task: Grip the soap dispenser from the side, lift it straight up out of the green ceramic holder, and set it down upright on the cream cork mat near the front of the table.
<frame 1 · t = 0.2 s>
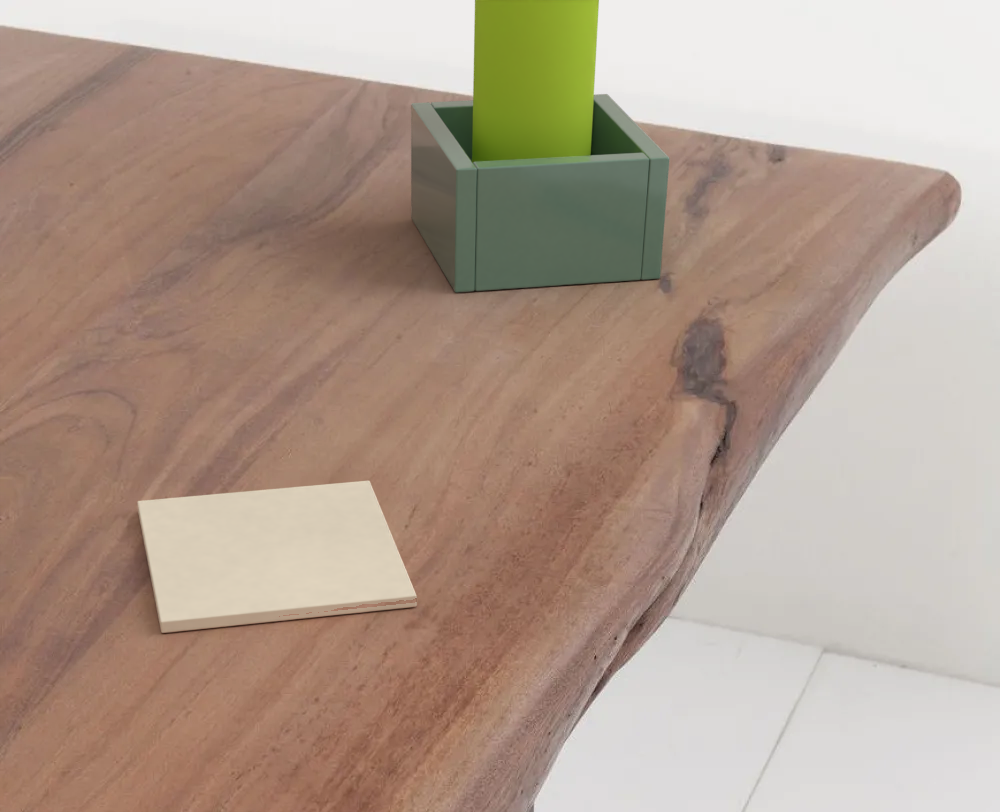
holder: (531, 248, 96), on the table
soap dispenser: (531, 251, 96), resting in holder
mat: (272, 557, 69), on the table
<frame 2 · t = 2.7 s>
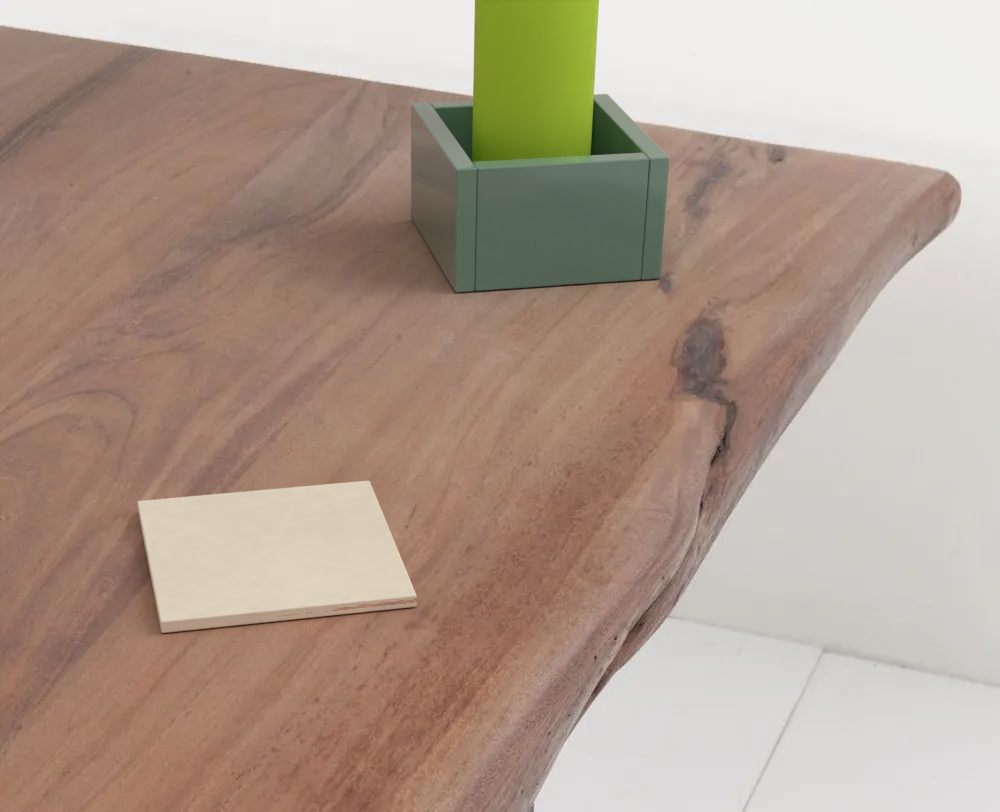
nothing on the table moved.
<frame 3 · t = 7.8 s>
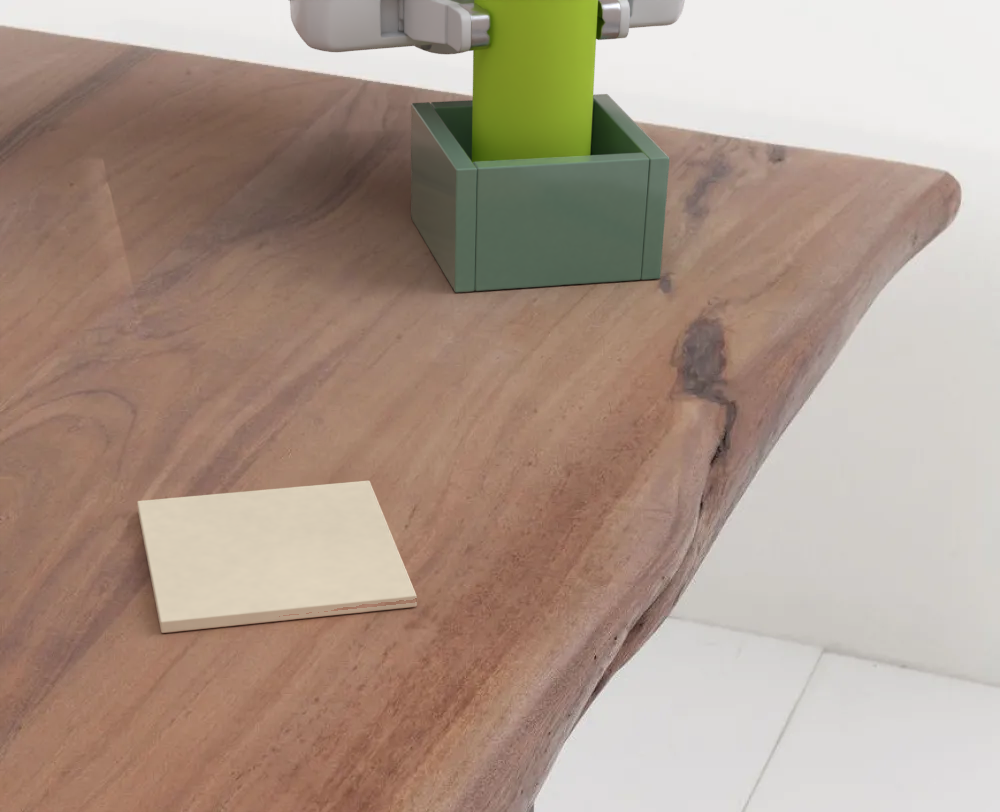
hand: (547, 27, 89), 11 cm above the table, tool horizontal, fingers closed on soap dispenser, 6 cm apart
soap dispenser: (531, 251, 96), resting in holder, touching gripper
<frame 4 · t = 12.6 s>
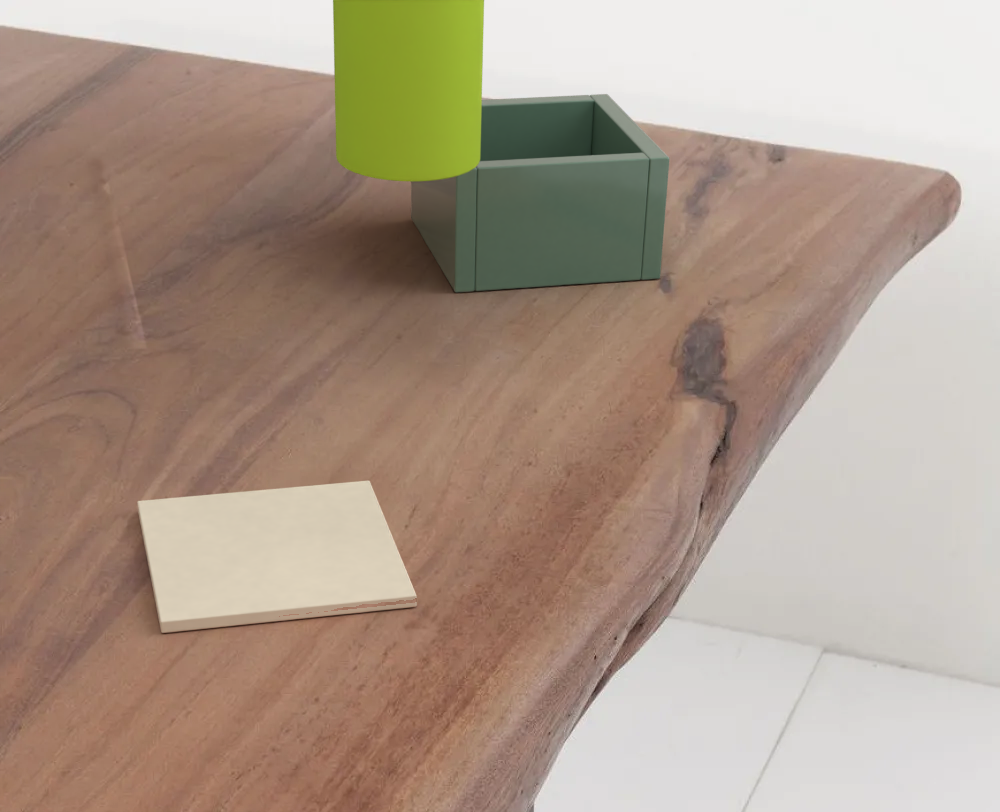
soap dispenser: (412, 166, 77), point 9 cm above the table, touching gripper
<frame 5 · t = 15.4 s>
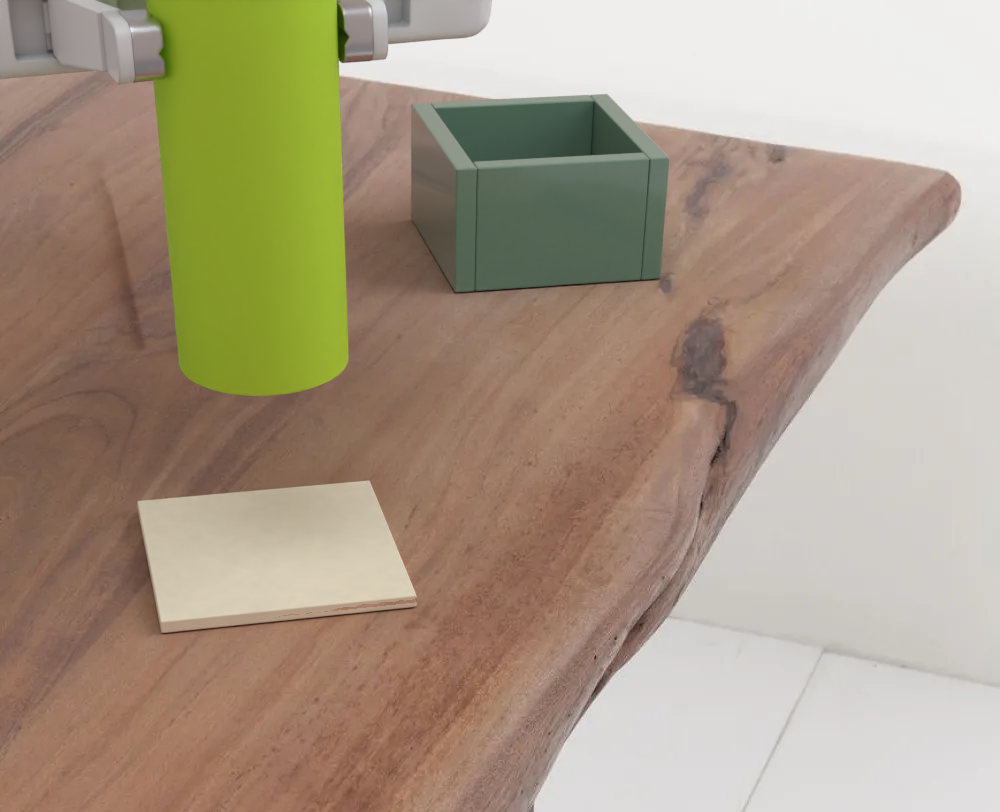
hand: (257, 45, 58), 18 cm above the table, tool horizontal, fingers closed on soap dispenser, 6 cm apart
soap dispenser: (268, 371, 65), point 7 cm above the table, touching gripper
when the fingers open (11 cm above the table, at t = 17.8 s): soap dispenser stays where it is, resting on mat.
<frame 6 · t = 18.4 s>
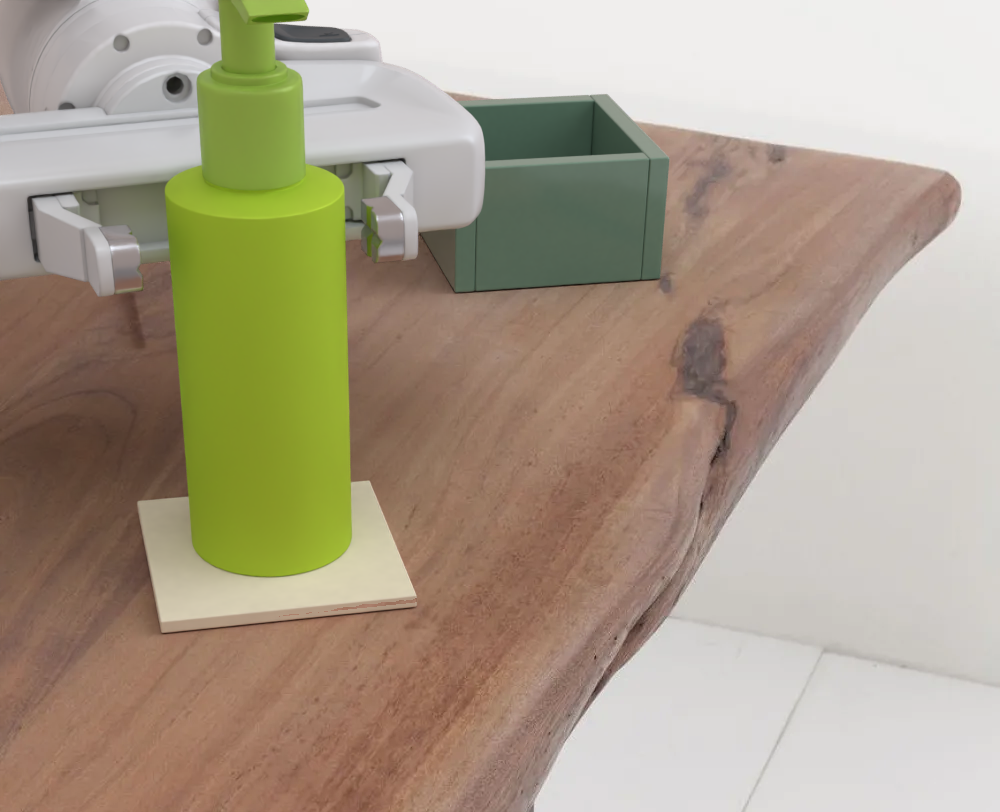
hand: (262, 255, 62), 12 cm above the table, tool horizontal, fingers open, 8 cm apart
soap dispenser: (276, 548, 69), resting on mat
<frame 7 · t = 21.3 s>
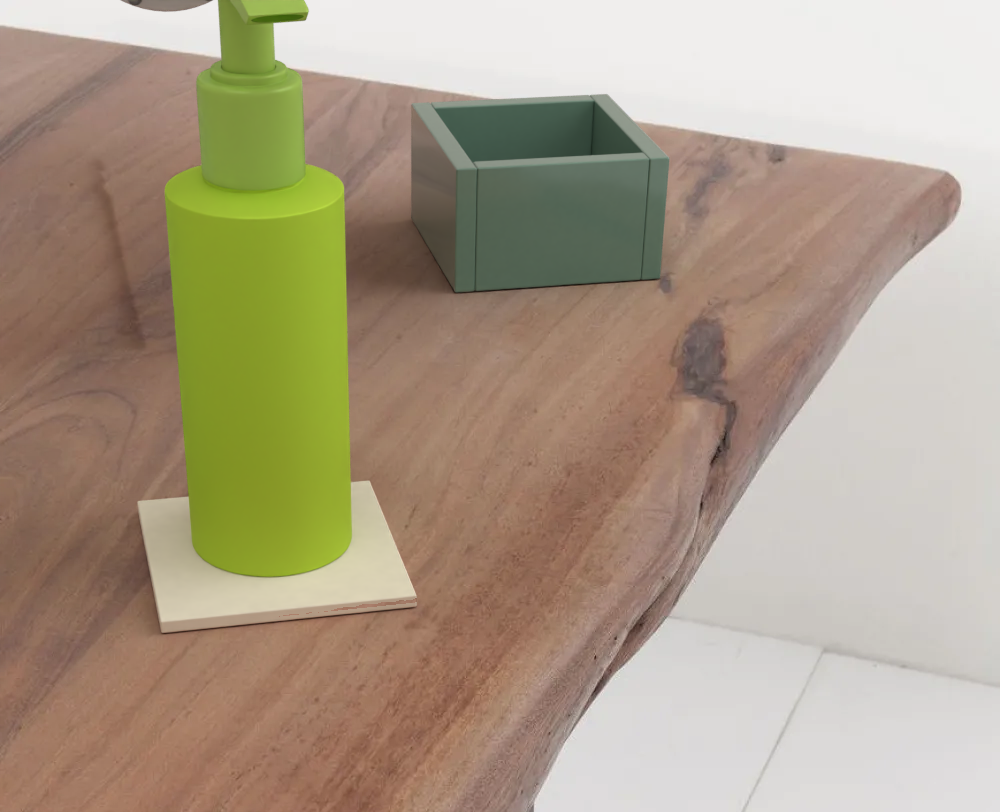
nothing on the table moved.
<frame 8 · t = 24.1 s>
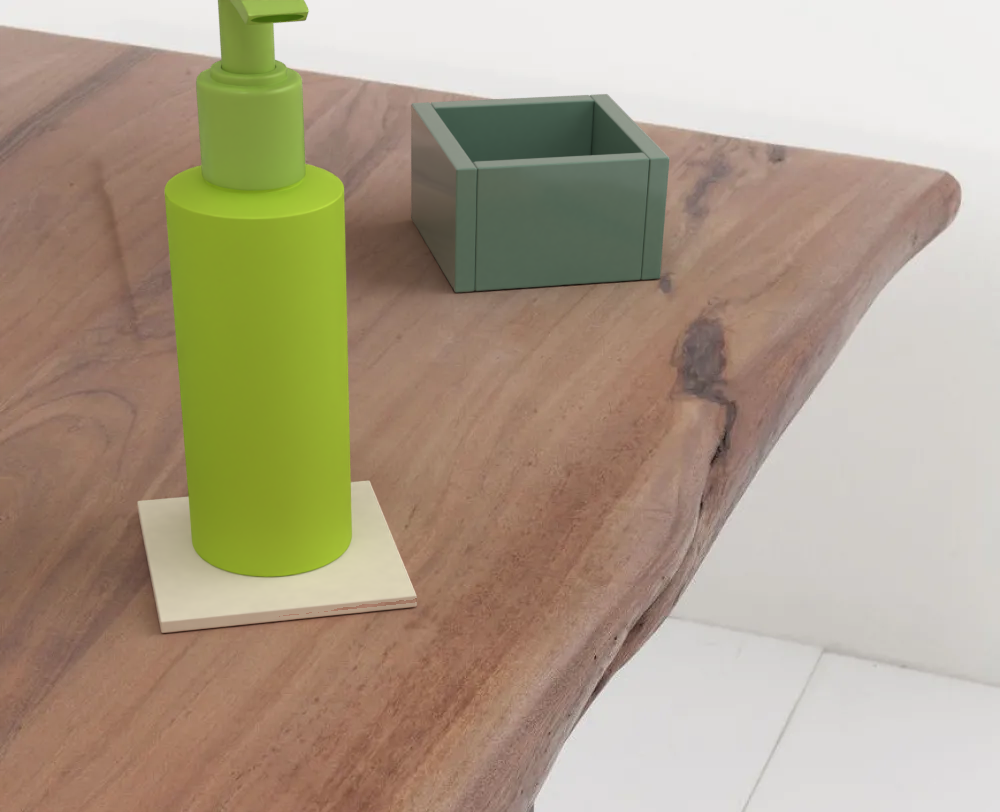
nothing on the table moved.
at the end: soap dispenser inside the target area on the mat (0.2 cm from its centre), point 0.3 cm above the mat's base; soap dispenser tilted 0°; the gripper is holding nothing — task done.
